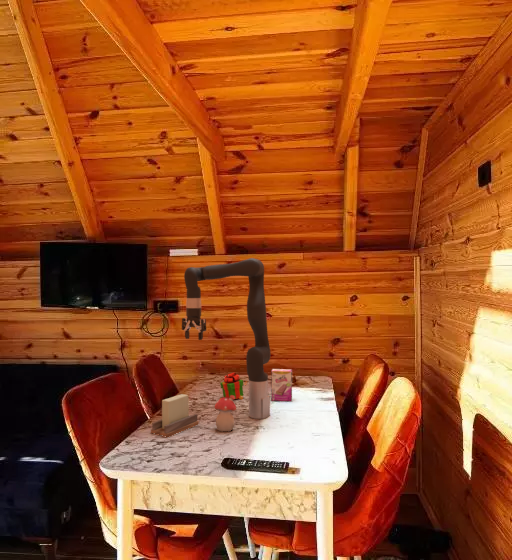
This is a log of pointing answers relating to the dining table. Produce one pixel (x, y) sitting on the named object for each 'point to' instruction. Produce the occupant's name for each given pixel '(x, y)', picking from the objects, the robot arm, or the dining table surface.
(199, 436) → the dining table surface
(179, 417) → the door panel
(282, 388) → the candy bar box
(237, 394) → the gift box
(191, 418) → the door track
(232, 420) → the decorative ornament
